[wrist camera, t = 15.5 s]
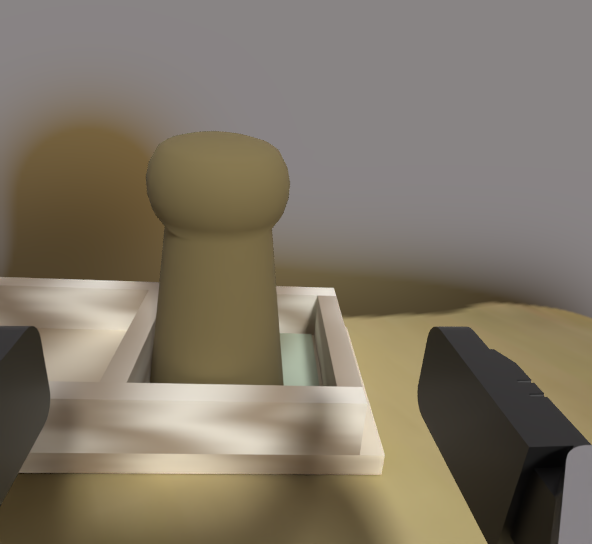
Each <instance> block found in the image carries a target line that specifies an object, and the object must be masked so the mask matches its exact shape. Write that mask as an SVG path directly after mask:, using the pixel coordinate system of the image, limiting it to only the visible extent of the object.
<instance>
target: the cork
mask: <svg viewBox="0 0 592 544" xmlns="http://www.w3.org/2000/svg"><path fill="white" fill-rule="evenodd" d="M146 185H147V194H148V197H149V200H150V203H151V206H152V209H153V211H154V212H155V214H156V216H157V217H158V218H159V220H160V221H161V222H162V223H163V224H164V226H165V230H164V240H163V250H162V261H161V271H160V282H159V292H158V303H157V313H156V323H155V334H154V344H153V355H152V365H151V376H150V383H172V384H226V385H280V386H284V383H283V369H282V356H281V343H280V330H279V317H278V304H277V291H276V277H275V264H274V251H273V238H272V228H273V226H274V225H275V224H276V223H277V222H278V221H279V219H280V218H281V216H282V214H283V213H284V210H285V207H286V204H287V201H288V198H289V188H290V181H289V175H288V169H287V166H286V164H285V162H284V160H283V158H282V156H281V154H280V152H279V150H278V149H276V148H275V147H274V146H272V145H271V144H269V143H268V142H266V141H264V140H260V139H257V138H254V137H250V136H247V135H243V134H237V133H230V132H219V131H207V132H206V131H204V132H194V133H187V134H182V135H177V136H173V137H171V138H168V139H167V140H165V141H163V142H162V143H160V144H159V145H158V147H157V148H156V150H155V152H154V154H153V156H152V157H151V159H150V161H149V164H148V169H147V174H146Z"/></svg>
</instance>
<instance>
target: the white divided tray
mask: <svg viewBox="0 0 592 544" xmlns="http://www.w3.org/2000/svg"><path fill="white" fill-rule="evenodd" d="M276 291H277V304H278V317H279V330H280V343H281V356H282V369H283V383H284V386H280V385H226V384H172V383H150V376H151V365H152V355H153V344H154V334H155V323H156V313H157V303H158V292H159V282H133V281H101V280H74V279H44V278H43V279H42V278H14V277H13V278H12V277H0V326H34V327H36V328H37V329H38V331H39V333H40V337H41V342H42V348H43V354H44V359H45V365H46V371H47V376H48V382H49V388H50V409H49V414H48V417H47V420H46V423H45V425H44V427H43V429H42V431H41V432H40V434H39V436H38V438H37V440H36V442H35V443H34V445H33V447H32V449H31V451H30V453H29V454H28V456H27V458H26V460H25V462H24V464H23V465H22V467H21V469H20V471H19V473H160V474H360V475H381V474H382V469H383V463H384V457H385V454H384V451H383V448H382V444H381V441H380V438H379V434H378V431H377V428H376V424H375V421H374V417H373V414H372V411H371V407H370V404H369V401H368V397H367V394H366V391H365V387H364V384H363V381H362V377H361V374H360V370H359V367H358V364H357V360H356V357H355V354H354V350H353V347H352V344H351V340H350V337H349V333H348V330H347V327H345V325H344V322H343V318H342V315H341V311H340V308H339V305H338V301H337V298H336V294H335V291H334V288H313V287H312V288H311V287H283V286H280V287H279V286H276Z"/></svg>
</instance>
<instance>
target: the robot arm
mask: <svg viewBox="0 0 592 544" xmlns="http://www.w3.org/2000/svg"><path fill="white" fill-rule="evenodd" d="M418 404H419V409H420V413H421V415H422V417H423V419H424V421H425V423H426V425H427V427H428V429H429V431H430V433H431V435H432V437H433V439H434V441H435V443H436V445H437V446H438V448H439V450H440V452H441V454H442V456H443V458H444V460H445V462H446V464H447V466H448V468H449V470H450V472H451V474H452V475H453V477H454V479H455V481H456V483H457V485H458V487H459V489H460V491H461V493H462V495H463V497H464V499H465V501H466V503H467V504H468V506H469V508H470V510H471V512H472V514H473V516H474V518H475V520H476V522H477V524H478V526H479V528H480V530H481V532H482V533H483V535H484V537H485V539H486V541H487V543H488V544H592V445H591V444H590V443H589V442H588V441H587V440H586V438H585V437H584V436H583V435H582V434H581V433H580V432H579V431H578V430H577V429H576V428H575V427H574V425H573V424H572V423H571V422H570V421H569V420H568V419H567V418H566V417H565V416H564V415H563V414H562V413H561V411H560V410H559V409H558V408H557V407H556V406H555V405H554V404H553V403H552V402H551V401H550V400H549V398H548V397H544V393H543V392H542V391H541V390H540V389H539V388H538V387H537V385H536V384H535V383H531V379H530V378H529V377H528V376H527V375H526V374H525V373H524V371H523V370H522V369H521V368H520V367H519V366H518V365H517V364H516V363H515V362H513V361H512V360H510V359H508V358H507V357H505V356H504V355H502V354H500V353H499V352H497V351H496V350H494V349H489V348H488V347H487V346H486V345H485V343H484V342H483V341H482V340H481V339H480V338H479V337H478V335H477V334H476V333H475V332H474V331H473V330H472V329H471V328H469V327H433V328H432V329H431V330H430V332H429V335H428V338H427V343H426V348H425V354H424V359H423V364H422V369H421V374H420V379H419V384H418ZM49 409H50V388H49V382H48V376H47V371H46V365H45V359H44V354H43V348H42V342H41V337H40V333H39V331H38V329H37V328H36V327H34V326H0V506H1V504H2V502H3V500H4V498H5V497H6V495H7V493H8V491H9V489H10V487H11V486H12V484H13V482H14V480H15V478H16V476H17V475H18V473H19V471H20V469H21V467H22V465H23V464H24V462H25V460H26V458H27V456H28V454H29V453H30V451H31V449H32V447H33V445H34V443H35V442H36V440H37V438H38V436H39V434H40V432H41V431H42V429H43V427H44V425H45V423H46V420H47V417H48V414H49Z"/></svg>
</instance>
